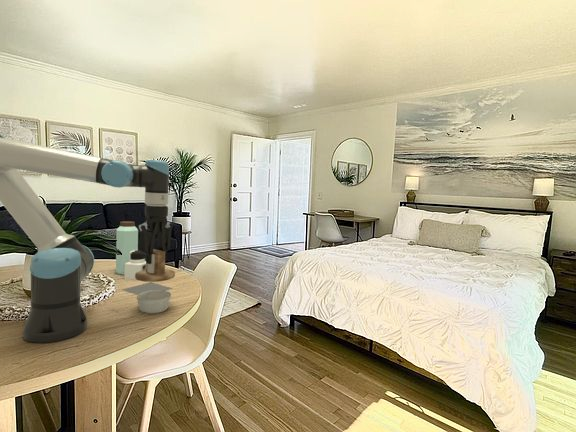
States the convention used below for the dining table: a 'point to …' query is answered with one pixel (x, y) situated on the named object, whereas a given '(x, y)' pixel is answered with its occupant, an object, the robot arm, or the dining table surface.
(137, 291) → the mat
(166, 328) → the dining table surface
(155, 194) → the robot arm
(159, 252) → the lid
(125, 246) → the water bottle
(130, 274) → the container
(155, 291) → the ramekin
